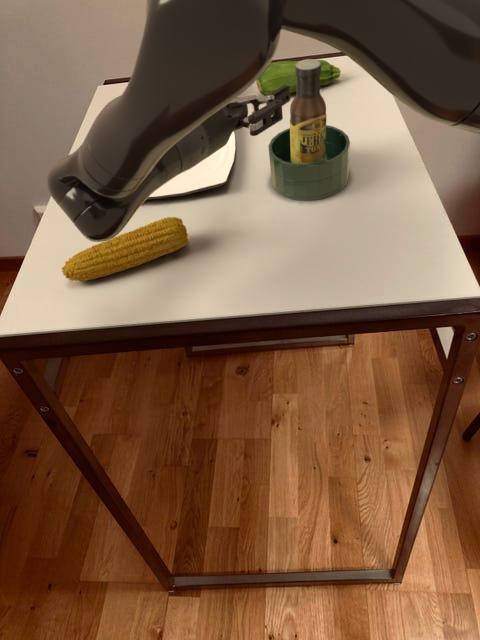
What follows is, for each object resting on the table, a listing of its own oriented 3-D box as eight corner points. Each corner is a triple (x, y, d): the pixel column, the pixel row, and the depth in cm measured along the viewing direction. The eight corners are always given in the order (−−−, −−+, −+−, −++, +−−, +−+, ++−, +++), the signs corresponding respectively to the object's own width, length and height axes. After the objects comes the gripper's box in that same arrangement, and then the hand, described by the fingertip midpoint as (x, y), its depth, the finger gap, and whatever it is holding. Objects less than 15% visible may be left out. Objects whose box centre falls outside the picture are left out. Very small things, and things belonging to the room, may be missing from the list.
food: (184, 234, 88) (176, 205, 84) (194, 252, 85) (187, 223, 80) (66, 276, 85) (52, 249, 80) (72, 297, 81) (57, 270, 77)
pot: (353, 159, 97) (355, 125, 92) (341, 203, 89) (342, 168, 84) (281, 156, 101) (279, 122, 96) (263, 197, 93) (259, 163, 88)
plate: (238, 122, 113) (236, 111, 111) (234, 198, 94) (232, 185, 92) (114, 136, 116) (110, 125, 114) (86, 211, 97) (81, 200, 95)
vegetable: (253, 59, 114) (338, 41, 116) (252, 82, 121) (332, 65, 122) (262, 85, 112) (348, 67, 114) (260, 107, 119) (341, 90, 121)
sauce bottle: (301, 188, 92) (297, 76, 77) (285, 173, 96) (278, 63, 81) (332, 177, 93) (334, 64, 78) (315, 162, 97) (313, 52, 82)
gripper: (221, 121, 61) (303, 68, 68) (146, 97, 69) (226, 51, 76) (230, 175, 67) (305, 121, 74) (159, 147, 74) (233, 100, 81)
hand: (265, 85), depth 75 cm, fingers open, 8 cm apart
